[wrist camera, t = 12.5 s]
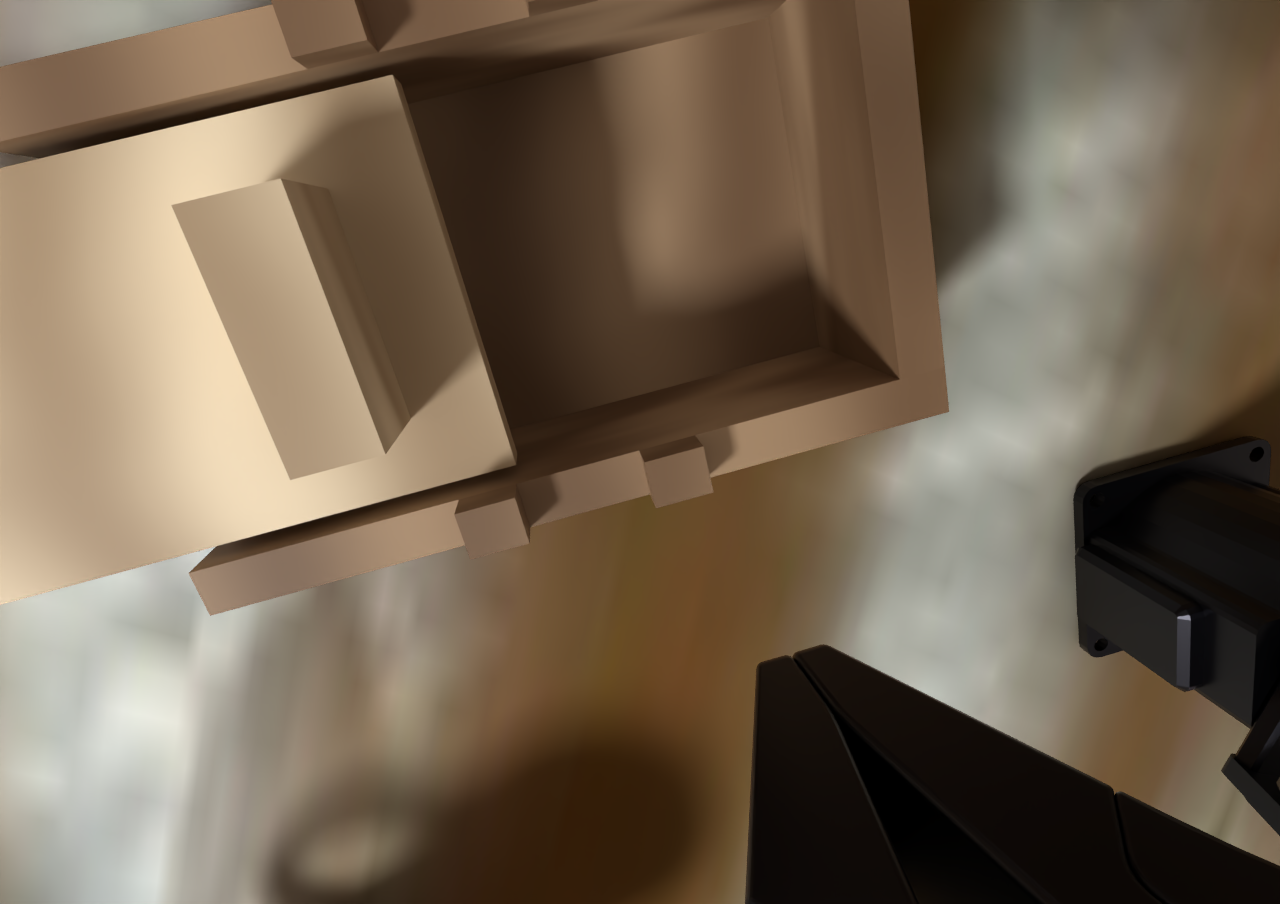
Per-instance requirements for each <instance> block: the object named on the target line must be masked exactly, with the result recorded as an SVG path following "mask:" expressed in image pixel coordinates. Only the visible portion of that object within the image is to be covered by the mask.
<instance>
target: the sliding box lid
mask: <svg viewBox="0 0 1280 904" xmlns="http://www.w3.org/2000/svg"><path fill="white" fill-rule="evenodd" d="M516 461H517V451H516V448H515V444H514V441H513V438H512V435H511V432H510V428H509V425H508V422H507V419H506V416H505V413H504V409H503V406H502V403H501V400H500V397H499V393H498V390H497V387H496V384H495V381H494V378H493V374H492V371H491V368H490V365H489V362H488V358H487V355H486V352H485V349H484V346H483V343H482V339H481V336H480V333H479V330H478V327H477V323H476V320H475V317H474V314H473V311H472V308H471V304H470V301H469V298H468V295H467V292H466V288H465V285H464V282H463V279H462V276H461V273H460V269H459V266H458V263H457V260H456V257H455V253H454V250H453V247H452V244H451V241H450V238H449V234H448V231H447V228H446V225H445V222H444V218H443V215H442V212H441V209H440V206H439V203H438V199H437V196H436V193H435V190H434V187H433V183H432V180H431V177H430V174H429V171H428V168H427V164H426V161H425V158H424V155H423V152H422V148H421V145H420V142H419V139H418V136H417V133H416V129H415V126H414V123H413V120H412V117H411V113H410V110H409V107H408V104H407V101H406V98H405V94H404V91H403V88H402V85H401V83H400V82H399V81H398V80H397V79H396V78H395V77H394V76H393V75H389V76H385V77H381V78H377V79H372V80H368V81H364V82H360V83H356V84H351V85H347V86H343V87H339V88H335V89H330V90H326V91H322V92H318V93H314V94H309V95H305V96H301V97H297V98H293V99H288V100H284V101H280V102H276V103H272V104H267V105H263V106H259V107H255V108H250V109H246V110H242V111H238V112H234V113H229V114H225V115H221V116H217V117H213V118H208V119H204V120H200V121H196V122H192V123H187V124H183V125H179V126H175V127H171V128H166V129H162V130H158V131H154V132H150V133H145V134H141V135H137V136H133V137H129V138H124V139H120V140H116V141H112V142H108V143H103V144H99V145H95V146H91V147H86V148H82V149H78V150H74V151H70V152H65V153H61V154H57V155H53V156H49V157H44V158H40V159H36V160H32V161H28V162H23V163H19V164H15V165H11V166H7V167H2V168H0V605H1V604H5V603H8V602H12V601H16V600H20V599H23V598H27V597H31V596H34V595H38V594H42V593H45V592H49V591H53V590H56V589H60V588H64V587H68V586H71V585H75V584H79V583H82V582H86V581H90V580H93V579H97V578H101V577H104V576H108V575H112V574H115V573H119V572H123V571H127V570H130V569H134V568H138V567H141V566H145V565H149V564H152V563H156V562H160V561H163V560H167V559H171V558H175V557H178V556H182V555H186V554H189V553H193V552H197V551H200V550H204V549H208V548H211V547H215V546H219V545H223V544H226V543H230V542H234V541H237V540H241V539H245V538H248V537H252V536H256V535H259V534H263V533H267V532H271V531H274V530H278V529H282V528H285V527H289V526H293V525H296V524H300V523H304V522H307V521H311V520H315V519H319V518H322V517H326V516H330V515H333V514H337V513H341V512H344V511H348V510H352V509H355V508H359V507H363V506H366V505H370V504H374V503H378V502H381V501H385V500H389V499H392V498H396V497H400V496H403V495H407V494H411V493H414V492H418V491H422V490H426V489H429V488H433V487H437V486H440V485H444V484H448V483H451V482H455V481H459V480H462V479H466V478H470V477H474V476H477V475H481V474H485V473H488V472H492V471H496V470H499V469H503V468H507V467H510V466H514V465H516Z"/></svg>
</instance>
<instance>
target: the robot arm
mask: <svg viewBox="0 0 1280 904" xmlns="http://www.w3.org/2000/svg"><path fill="white" fill-rule="evenodd" d="M1250 452H1251V453H1250ZM1270 458H1271V447H1270V444H1269V443H1268V442H1267V441H1265V440H1263V439H1259V438H1256V437H1252V436H1246V437H1242V438H1239V439H1235V440H1232V441H1228V442H1225V443H1221V444H1218V445H1214V446H1211V447H1207V448H1204V449H1200V450H1197V451H1193V452H1190V453H1186V454H1183V455H1179V456H1176V457H1172V458H1168V459H1165V460H1161V461H1158V462H1154V463H1151V464H1147V465H1144V466H1140V467H1137V468H1133V469H1130V470H1126V471H1123V472H1119V473H1116V474H1112V475H1109V476H1105V477H1102V478H1098V479H1095V480H1091V481H1088V482H1086V483H1084V484H1082V485H1081V486H1080V487H1079V488H1078V489H1077V490H1076V492H1075V494H1074V500H1073V501H1074V526H1075V552H1076V555H1075V568H1076V594H1077V615H1078V629H1079V644H1080V647H1081V648H1082V649H1083V650H1084V651H1086V652H1087V653H1088V654H1090V655H1091V656H1093V657H1103V656H1106V655H1109V654H1113V653H1116V652H1119V651H1123V650H1124V651H1125V652H1127V653H1128V654H1129V655H1131V656H1132V657H1134V658H1135V659H1136V660H1138V661H1139V662H1141V663H1142V664H1143V665H1145V666H1146V667H1148V668H1149V669H1150V670H1152V671H1153V672H1155V673H1156V674H1157V675H1159V676H1160V677H1162V678H1163V679H1164V680H1166V681H1167V682H1169V683H1170V684H1171V685H1173V686H1174V687H1176V688H1178V689H1180V690H1182V691H1184V692H1186V691H1190V690H1193V689H1194V690H1195V691H1197V692H1198V693H1200V694H1201V695H1203V696H1204V697H1205V698H1207V699H1208V700H1210V701H1211V702H1213V703H1214V704H1215V705H1217V706H1218V707H1220V708H1221V709H1223V710H1224V711H1225V712H1227V713H1228V714H1230V715H1231V716H1233V717H1234V718H1235V719H1237V720H1238V721H1240V722H1241V723H1243V724H1244V725H1246V726H1247V727H1248V728H1250V731H1249V733H1248V734H1247V736H1246V738H1245V740H1244V741H1243V743H1242V745H1241V746H1240V748H1239V750H1238V751H1237V753H1236V754H1231V755H1230V756H1229V758H1228V760H1227V761H1226V763H1225V765H1224V766H1223V768H1222V770H1221V771H1222V773H1223V774H1224V775H1225V776H1226V777H1227V778H1228V779H1229V780H1230V781H1231V782H1232V783H1233V785H1234V786H1235V787H1236V788H1237V789H1238V790H1239V791H1240V792H1241V793H1242V794H1243V795H1244V796H1245V798H1246V800H1247V801H1248V802H1249V803H1250V804H1251V806H1252V807H1253V808H1254V809H1255V810H1256V811H1257V812H1258V813H1259V814H1260V815H1261V816H1262V817H1263V818H1264V819H1265V821H1266V822H1267V823H1268V824H1269V825H1270V826H1271V827H1272V828H1273V829H1274V830H1275V831H1276V832H1277V833H1278V835H1279V836H1280V490H1279V489H1276V488H1273V487H1270V486H1269V475H1270ZM1094 494H1095V497H1094V499H1093V500H1092V501H1091V502H1090V499H1091V497H1092V496H1093V495H1094ZM1097 640H1098V641H1097ZM1096 641H1097V642H1096ZM745 904H1280V866H1278V865H1276V864H1274V863H1271V862H1269V861H1267V860H1265V859H1262V858H1260V857H1258V856H1255V855H1253V854H1251V853H1248V852H1246V851H1244V850H1242V849H1239V848H1237V847H1235V846H1233V845H1231V844H1229V843H1226V842H1224V841H1222V840H1220V839H1218V838H1216V837H1214V836H1212V835H1210V834H1208V833H1205V832H1203V831H1201V830H1199V829H1197V828H1195V827H1193V826H1191V825H1189V824H1187V823H1184V822H1182V821H1180V820H1178V819H1176V818H1174V817H1172V816H1170V815H1168V814H1166V813H1164V812H1162V811H1160V810H1158V809H1155V808H1153V807H1151V806H1149V805H1147V804H1145V803H1143V802H1141V801H1139V800H1137V799H1135V798H1133V797H1131V796H1129V795H1127V794H1125V793H1123V792H1117V793H1116V794H1115V795H1114V791H1113V789H1112V788H1111V787H1110V786H1109V785H1107V784H1105V783H1103V782H1101V781H1099V780H1097V779H1095V778H1093V777H1091V776H1089V775H1087V774H1085V773H1083V772H1081V771H1079V770H1077V769H1075V768H1073V767H1071V766H1069V765H1067V764H1065V763H1063V762H1061V761H1059V760H1057V759H1055V758H1053V757H1051V756H1049V755H1047V754H1045V753H1043V752H1041V751H1039V750H1037V749H1035V748H1033V747H1031V746H1029V745H1027V744H1025V743H1023V742H1021V741H1019V740H1017V739H1015V738H1013V737H1011V736H1009V735H1007V734H1005V733H1003V732H1001V731H999V730H997V729H995V728H993V727H991V726H989V725H987V724H985V723H983V722H981V721H979V720H977V719H975V718H973V717H971V716H969V715H967V714H965V713H963V712H961V711H959V710H957V709H955V708H953V707H951V706H949V705H947V704H945V703H943V702H941V701H939V700H937V699H935V698H933V697H931V696H929V695H927V694H925V693H923V692H921V691H919V690H917V689H915V688H913V687H911V686H909V685H907V684H905V683H903V682H901V681H899V680H897V679H895V678H893V677H891V676H889V675H887V674H885V673H883V672H881V671H879V670H877V669H875V668H873V667H871V666H869V665H867V664H865V663H863V662H861V661H859V660H857V659H855V658H853V657H851V656H849V655H847V654H845V653H843V652H841V651H839V650H837V649H835V648H833V647H831V646H828V645H819V646H815V647H812V648H808V649H805V650H802V651H798V652H796V653H795V654H794V655H793V658H792V657H791V656H787V655H785V656H781V657H778V658H774V659H771V660H767V661H764V662H761V663H759V664H758V666H757V669H756V688H755V709H754V730H753V750H752V771H751V791H750V812H749V833H748V853H747V874H746V895H745Z"/></svg>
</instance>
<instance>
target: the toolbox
mask: <svg viewBox="0 0 1280 904" xmlns="http://www.w3.org/2000/svg"><path fill="white" fill-rule="evenodd" d="M271 2H272V5H267V6H263V7H258V8H254V9H250V10H245V11H241V12H237V13H232V14H228V15H224V16H219V17H215V18H211V19H206V20H202V21H198V22H193V23H189V24H185V25H180V26H176V27H172V28H167V29H163V30H159V31H154V32H150V33H146V34H141V35H137V36H132V37H128V38H124V39H119V40H115V41H111V42H106V43H102V44H98V45H93V46H89V47H85V48H80V49H76V50H72V51H67V52H63V53H59V54H54V55H50V56H46V57H41V58H37V59H33V60H28V61H24V62H19V63H15V64H11V65H6V66H2V67H0V152H2V153H9V154H16V155H22V156H29V157H36V158H44V157H49V156H53V155H57V154H61V153H65V152H70V151H74V150H78V149H82V148H86V147H91V146H95V145H99V144H103V143H108V142H112V141H116V140H120V139H124V138H129V137H133V136H137V135H141V134H145V133H150V132H154V131H158V130H162V129H166V128H171V127H175V126H179V125H183V124H187V123H192V122H196V121H200V120H204V119H208V118H213V117H217V116H221V115H225V114H229V113H234V112H238V111H242V110H246V109H250V108H255V107H259V106H263V105H267V104H272V103H276V102H280V101H284V100H288V99H293V98H297V97H301V96H305V95H309V94H314V93H318V92H322V91H326V90H330V89H335V88H339V87H343V86H347V85H351V84H356V83H360V82H364V81H368V80H372V79H377V78H381V77H385V76H389V75H393V76H394V77H395V78H396V79H397V80H398V81H399V82H400V83H401V85H402V88H403V91H404V94H405V98H406V101H407V104H408V107H409V110H410V113H411V117H412V120H413V123H414V126H415V129H416V133H417V136H418V139H419V142H420V145H421V148H422V152H423V155H424V158H425V161H426V164H427V168H428V171H429V174H430V177H431V180H432V183H433V187H434V190H435V193H436V196H437V199H438V203H439V206H440V209H441V212H442V215H443V218H444V222H445V225H446V228H447V231H448V234H449V238H450V241H451V244H452V247H453V250H454V253H455V257H456V260H457V263H458V266H459V269H460V273H461V276H462V279H463V282H464V285H465V288H466V292H467V295H468V298H469V301H470V304H471V308H472V311H473V314H474V317H475V320H476V323H477V327H478V330H479V333H480V336H481V339H482V343H483V346H484V349H485V352H486V355H487V358H488V362H489V365H490V368H491V371H492V374H493V378H494V381H495V384H496V387H497V390H498V393H499V397H500V400H501V403H502V406H503V409H504V413H505V416H506V419H507V422H508V425H509V428H510V432H511V435H512V438H513V441H514V444H515V448H516V451H517V461H516V465H514V466H510V467H507V468H503V469H499V470H496V471H492V472H488V473H485V474H481V475H477V476H474V477H470V478H466V479H462V480H459V481H455V482H451V483H448V484H444V485H440V486H437V487H433V488H429V489H426V490H422V491H418V492H414V493H411V494H407V495H403V496H400V497H396V498H392V499H389V500H385V501H381V502H378V503H374V504H370V505H366V506H363V507H359V508H355V509H352V510H348V511H344V512H341V513H337V514H333V515H330V516H326V517H322V518H319V519H315V520H311V521H307V522H304V523H300V524H296V525H293V526H289V527H285V528H282V529H278V530H274V531H271V532H267V533H263V534H259V535H256V536H252V537H248V538H245V539H241V540H237V541H234V542H230V543H226V544H223V545H219V546H216V547H215V548H214V549H213V550H212V551H211V552H210V553H209V554H208V555H207V556H206V557H205V558H204V559H203V560H202V561H201V562H200V563H199V564H198V565H197V566H196V567H195V568H194V569H192V570H191V571H190V572H189V575H190V577H191V579H192V581H193V583H194V585H195V587H196V589H197V591H198V593H199V595H200V597H201V598H202V600H203V602H204V604H205V606H206V608H207V610H208V612H209V614H210V616H211V615H214V614H218V613H222V612H225V611H229V610H232V609H236V608H240V607H243V606H247V605H250V604H254V603H258V602H261V601H265V600H269V599H272V598H276V597H279V596H283V595H287V594H290V593H294V592H298V591H301V590H305V589H308V588H312V587H316V586H319V585H323V584H327V583H330V582H334V581H337V580H341V579H345V578H348V577H352V576H356V575H359V574H363V573H366V572H370V571H374V570H377V569H381V568H384V567H388V566H392V565H395V564H399V563H403V562H406V561H410V560H413V559H417V558H421V557H424V556H428V555H432V554H435V553H439V552H442V551H446V550H450V549H453V548H457V547H461V546H464V545H465V546H466V549H467V552H468V555H469V557H470V560H471V559H475V558H478V557H482V556H486V555H489V554H493V553H496V552H500V551H504V550H507V549H511V548H514V547H518V546H522V545H525V544H529V543H530V527H533V526H537V525H540V524H544V523H547V522H551V521H555V520H558V519H562V518H566V517H569V516H573V515H576V514H580V513H584V512H587V511H591V510H595V509H598V508H602V507H605V506H609V505H613V504H616V503H620V502H623V501H627V500H631V499H634V498H638V497H642V496H645V495H649V494H650V495H651V497H652V500H653V502H654V505H655V507H656V508H659V507H662V506H666V505H669V504H673V503H677V502H680V501H684V500H687V499H691V498H695V497H698V496H702V495H706V494H709V493H713V488H712V483H711V479H710V477H714V476H718V475H721V474H725V473H729V472H732V471H736V470H739V469H743V468H747V467H750V466H754V465H757V464H761V463H765V462H768V461H772V460H776V459H779V458H783V457H786V456H790V455H794V454H797V453H801V452H805V451H808V450H812V449H815V448H819V447H823V446H826V445H830V444H834V443H837V442H841V441H844V440H848V439H852V438H855V437H859V436H863V435H866V434H870V433H873V432H877V431H881V430H884V429H888V428H891V427H895V426H899V425H902V424H906V423H910V422H913V421H917V420H920V419H924V418H928V417H931V416H935V415H939V414H942V413H946V412H949V406H948V396H947V386H946V376H945V366H944V355H943V345H942V335H941V325H940V314H939V304H938V294H937V284H936V274H935V263H934V253H933V243H932V233H931V223H930V212H929V202H928V192H927V182H926V171H925V161H924V151H923V141H922V131H921V120H920V110H919V100H918V90H917V80H916V69H915V59H914V49H913V39H912V28H911V18H910V8H909V0H271Z"/></svg>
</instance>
